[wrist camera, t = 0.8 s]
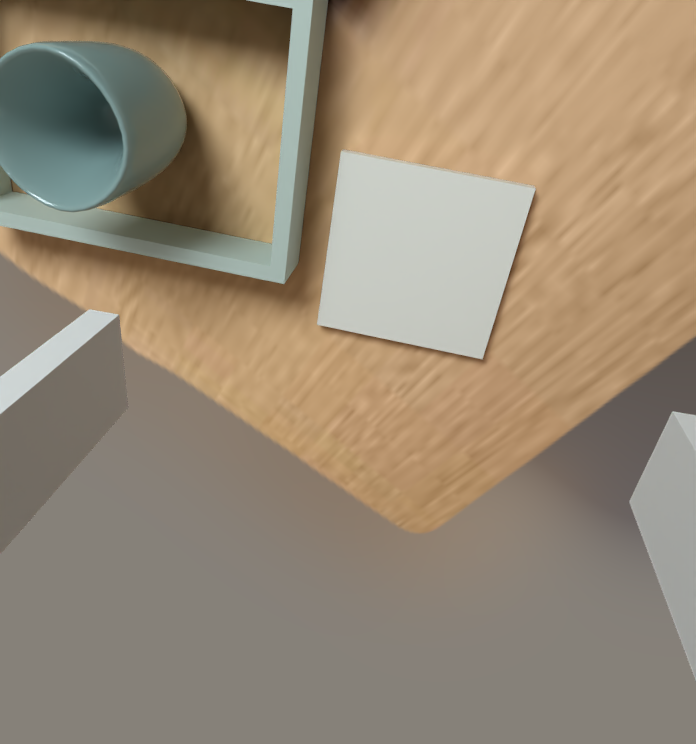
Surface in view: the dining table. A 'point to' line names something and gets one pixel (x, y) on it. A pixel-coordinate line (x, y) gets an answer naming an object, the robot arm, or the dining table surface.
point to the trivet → (420, 252)
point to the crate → (200, 244)
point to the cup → (86, 121)
